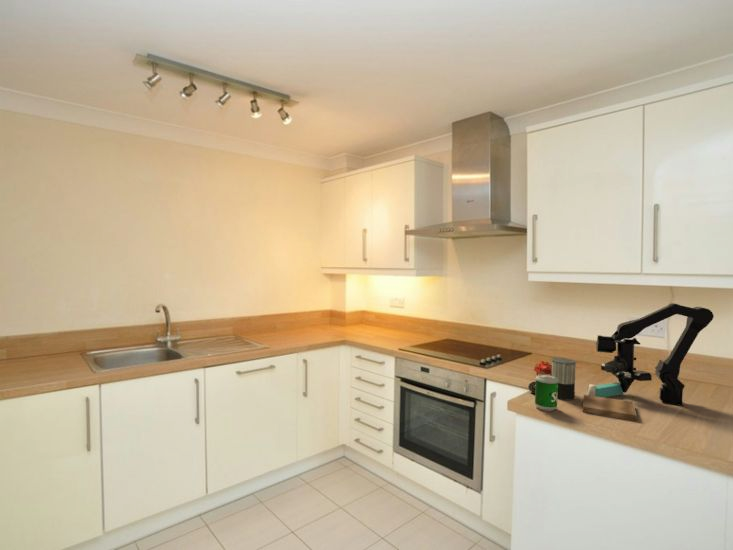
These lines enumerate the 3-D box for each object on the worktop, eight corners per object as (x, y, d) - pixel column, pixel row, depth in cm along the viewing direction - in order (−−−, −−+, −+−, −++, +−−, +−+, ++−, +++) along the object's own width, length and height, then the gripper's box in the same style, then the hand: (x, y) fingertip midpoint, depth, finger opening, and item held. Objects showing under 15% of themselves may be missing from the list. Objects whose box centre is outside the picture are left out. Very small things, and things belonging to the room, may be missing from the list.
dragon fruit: (536, 377, 193) (554, 388, 182) (525, 368, 190) (543, 379, 179) (546, 363, 194) (565, 373, 183) (536, 354, 191) (554, 364, 180)
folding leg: (593, 399, 156) (594, 386, 156) (586, 397, 159) (587, 384, 159) (623, 393, 164) (623, 381, 164) (616, 391, 167) (616, 379, 166)
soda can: (546, 413, 141) (547, 379, 141) (530, 406, 148) (531, 374, 148) (561, 410, 144) (562, 377, 144) (545, 403, 151) (545, 372, 151)
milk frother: (580, 400, 156) (581, 362, 156) (544, 401, 154) (545, 363, 154) (558, 388, 170) (559, 354, 170) (524, 390, 168) (524, 355, 168)
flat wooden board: (632, 407, 149) (632, 401, 149) (636, 421, 135) (636, 415, 135) (583, 399, 157) (583, 394, 157) (582, 412, 143) (583, 406, 143)
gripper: (590, 350, 168) (589, 387, 169) (630, 359, 150) (629, 401, 150) (612, 349, 171) (611, 385, 171) (653, 358, 153) (652, 399, 153)
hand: (624, 392), depth 162 cm, fingers closed
